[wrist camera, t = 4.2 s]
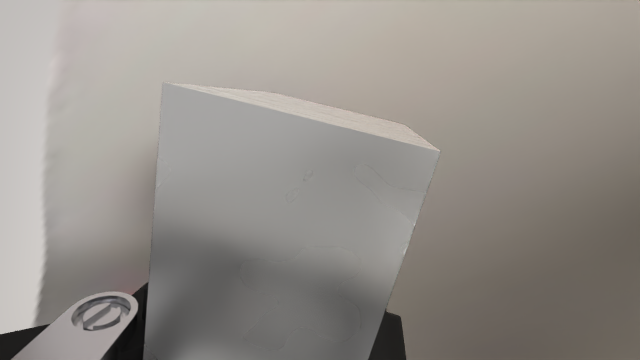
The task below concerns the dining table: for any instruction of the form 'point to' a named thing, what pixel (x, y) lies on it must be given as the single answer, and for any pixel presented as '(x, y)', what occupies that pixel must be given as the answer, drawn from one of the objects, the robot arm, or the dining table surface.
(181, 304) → the silver metal block
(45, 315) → the dining table surface
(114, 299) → the robot arm
